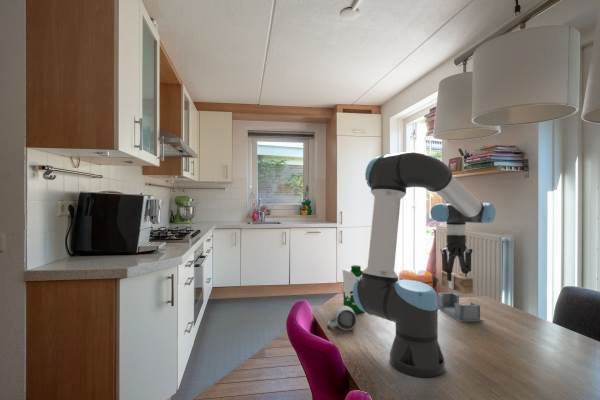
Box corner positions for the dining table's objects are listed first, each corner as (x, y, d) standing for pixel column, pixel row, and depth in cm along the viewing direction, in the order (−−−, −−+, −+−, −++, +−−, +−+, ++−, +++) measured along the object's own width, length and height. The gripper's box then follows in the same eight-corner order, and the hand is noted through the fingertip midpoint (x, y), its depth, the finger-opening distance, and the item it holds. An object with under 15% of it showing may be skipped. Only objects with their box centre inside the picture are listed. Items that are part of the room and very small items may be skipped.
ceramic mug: (354, 322, 126) (353, 303, 126) (357, 330, 118) (356, 309, 118) (327, 322, 126) (326, 303, 126) (328, 331, 118) (328, 310, 118)
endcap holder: (483, 320, 127) (483, 305, 127) (459, 321, 126) (459, 306, 126) (454, 305, 147) (454, 292, 147) (434, 305, 146) (433, 292, 146)
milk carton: (349, 315, 135) (349, 267, 135) (340, 308, 143) (340, 264, 143) (367, 312, 137) (367, 266, 137) (357, 306, 146) (357, 263, 146)
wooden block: (472, 293, 131) (472, 278, 131) (464, 293, 130) (464, 279, 130) (449, 284, 144) (449, 271, 144) (442, 285, 143) (441, 272, 144)
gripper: (469, 233, 142) (470, 285, 141) (432, 233, 140) (433, 286, 140) (480, 234, 134) (481, 289, 134) (441, 235, 133) (442, 291, 132)
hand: (456, 288), depth 137 cm, fingers closed on wooden block, 4 cm apart
